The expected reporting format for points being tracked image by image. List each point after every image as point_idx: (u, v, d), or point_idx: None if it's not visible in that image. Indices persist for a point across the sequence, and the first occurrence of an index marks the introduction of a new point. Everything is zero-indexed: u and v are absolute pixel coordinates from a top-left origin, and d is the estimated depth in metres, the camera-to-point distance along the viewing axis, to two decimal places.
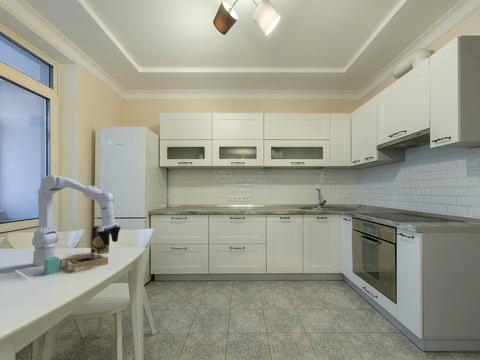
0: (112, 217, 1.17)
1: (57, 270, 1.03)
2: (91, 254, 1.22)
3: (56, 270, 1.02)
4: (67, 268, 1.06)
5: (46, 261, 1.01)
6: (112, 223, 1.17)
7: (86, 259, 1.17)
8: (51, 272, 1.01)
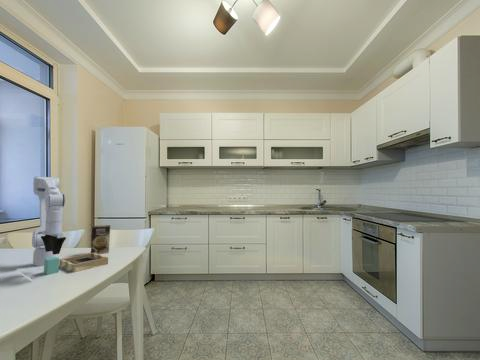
0: (45, 224, 1.02)
1: (57, 270, 1.03)
2: (91, 254, 1.22)
3: (56, 270, 1.02)
4: (67, 268, 1.06)
5: (46, 261, 1.01)
6: (45, 230, 1.02)
7: (86, 259, 1.17)
8: (51, 272, 1.01)
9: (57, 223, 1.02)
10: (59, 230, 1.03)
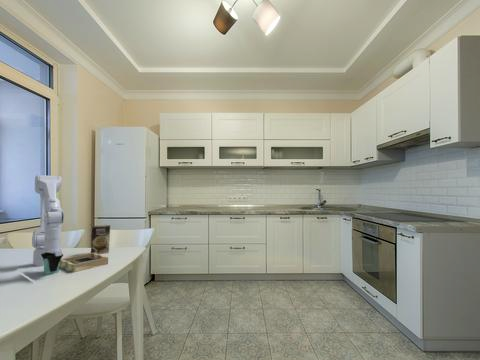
0: (44, 241, 1.01)
1: (57, 270, 1.03)
2: (91, 254, 1.22)
3: None
4: (67, 268, 1.06)
5: (46, 261, 1.01)
6: (44, 248, 1.02)
7: (86, 259, 1.17)
8: (51, 272, 1.01)
9: (56, 240, 1.02)
10: (58, 248, 1.03)
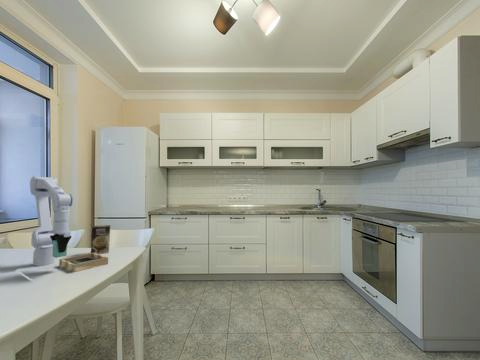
0: (53, 223, 1.04)
1: (65, 252, 1.05)
2: (91, 254, 1.22)
3: None
4: (67, 268, 1.06)
5: (55, 243, 1.03)
6: (53, 229, 1.04)
7: (86, 259, 1.17)
8: (59, 253, 1.04)
9: (64, 222, 1.05)
10: (66, 230, 1.05)
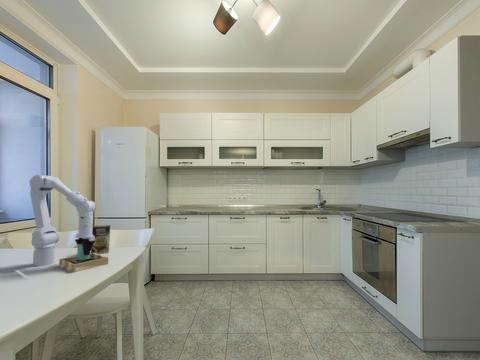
0: None
1: (89, 255, 1.14)
2: (91, 254, 1.22)
3: (88, 255, 1.13)
4: (67, 268, 1.06)
5: (80, 247, 1.11)
6: (78, 234, 1.13)
7: (86, 259, 1.17)
8: (84, 256, 1.12)
9: (89, 227, 1.13)
10: (90, 234, 1.14)
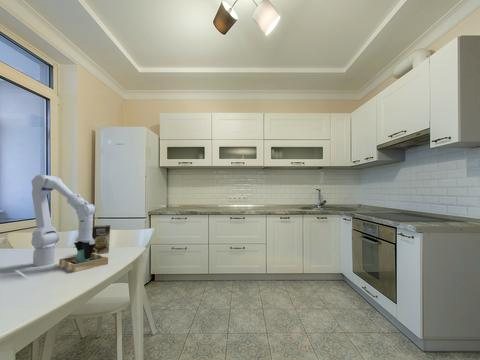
0: (78, 231, 1.12)
1: None
2: (91, 254, 1.22)
3: None
4: (67, 268, 1.06)
5: (80, 253, 1.11)
6: (78, 237, 1.13)
7: None
8: None
9: (88, 231, 1.13)
10: (90, 237, 1.14)
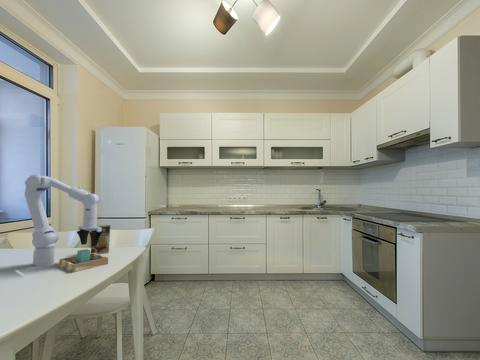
0: (83, 220, 1.16)
1: None
2: (91, 254, 1.22)
3: None
4: (67, 268, 1.06)
5: (80, 253, 1.11)
6: (83, 226, 1.16)
7: None
8: None
9: (94, 219, 1.17)
10: (95, 225, 1.18)
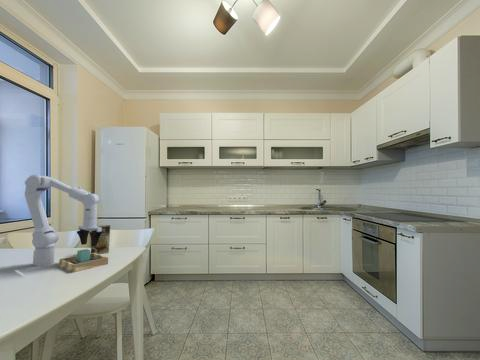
0: (83, 220, 1.16)
1: None
2: (91, 254, 1.22)
3: None
4: (67, 268, 1.06)
5: (80, 253, 1.11)
6: (83, 226, 1.16)
7: None
8: None
9: (94, 219, 1.17)
10: (95, 225, 1.18)
